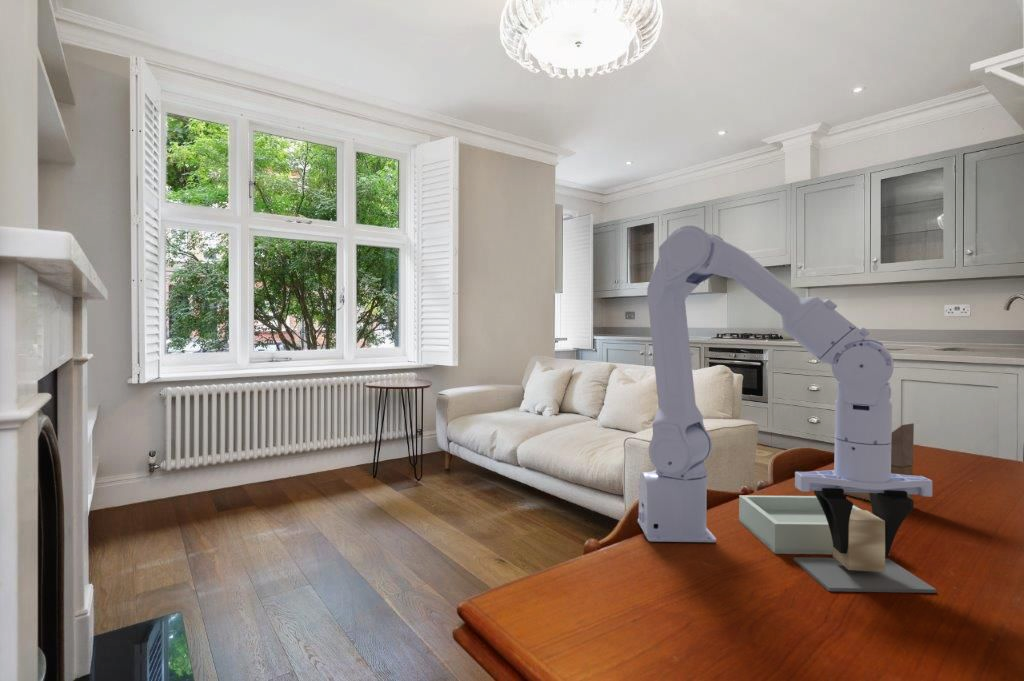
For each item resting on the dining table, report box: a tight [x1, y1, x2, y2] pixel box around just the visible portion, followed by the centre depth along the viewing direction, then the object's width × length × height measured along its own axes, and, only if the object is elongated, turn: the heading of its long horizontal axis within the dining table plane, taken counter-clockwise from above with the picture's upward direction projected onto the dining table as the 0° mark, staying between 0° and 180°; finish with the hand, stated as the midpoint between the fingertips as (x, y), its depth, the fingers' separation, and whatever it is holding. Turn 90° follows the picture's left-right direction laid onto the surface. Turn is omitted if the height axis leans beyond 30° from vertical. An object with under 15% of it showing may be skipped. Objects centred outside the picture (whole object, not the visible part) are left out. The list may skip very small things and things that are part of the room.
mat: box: [793, 556, 937, 594], centre depth 64 cm, size 12×8×1 cm, turn 88°
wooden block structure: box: [844, 422, 915, 502], centre depth 92 cm, size 4×11×18 cm, turn 27°
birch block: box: [832, 509, 886, 572], centre depth 65 cm, size 4×4×6 cm
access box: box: [738, 494, 891, 556], centre depth 76 cm, size 15×12×4 cm
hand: (860, 551), depth 64 cm, fingers closed on birch block, 4 cm apart
